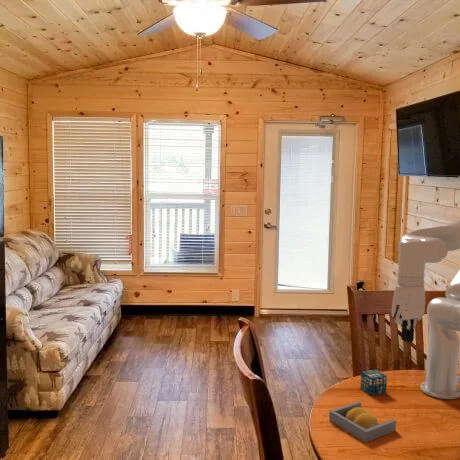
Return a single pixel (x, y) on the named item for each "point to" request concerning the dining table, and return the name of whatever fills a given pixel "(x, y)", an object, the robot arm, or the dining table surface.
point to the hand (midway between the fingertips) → (407, 340)
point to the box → (365, 435)
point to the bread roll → (362, 417)
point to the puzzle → (373, 382)
